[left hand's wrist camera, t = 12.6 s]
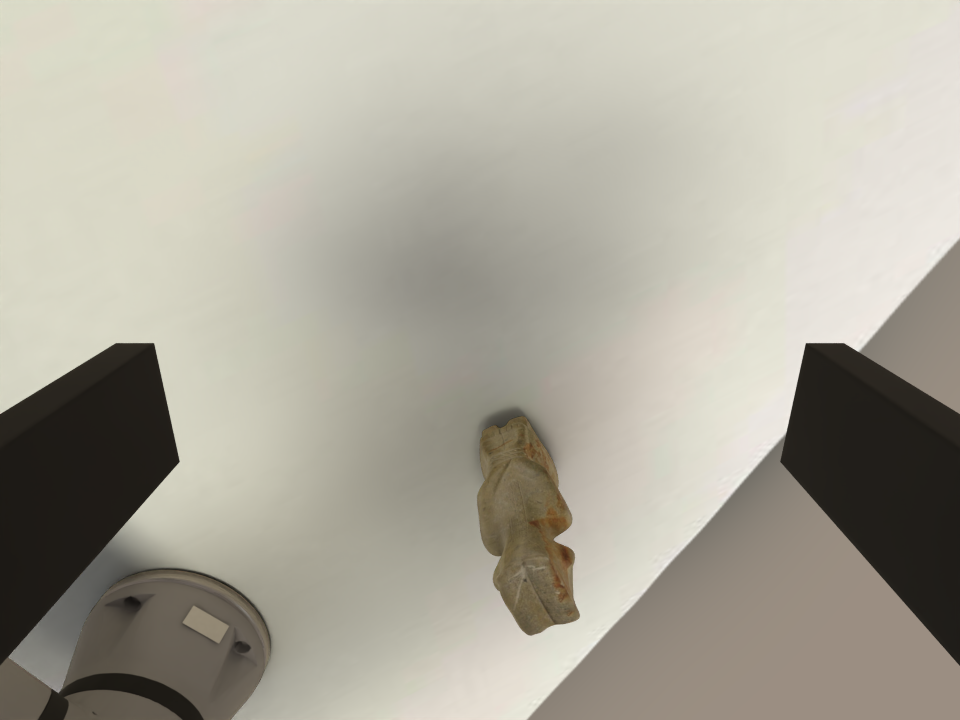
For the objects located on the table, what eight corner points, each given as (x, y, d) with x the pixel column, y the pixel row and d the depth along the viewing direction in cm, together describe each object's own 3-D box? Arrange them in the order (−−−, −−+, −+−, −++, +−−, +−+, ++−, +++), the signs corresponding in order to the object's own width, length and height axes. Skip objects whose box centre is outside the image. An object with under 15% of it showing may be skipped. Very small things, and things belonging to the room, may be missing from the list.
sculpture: (496, 498, 47) (502, 656, 33) (464, 421, 45) (457, 558, 31) (567, 476, 46) (604, 629, 32) (538, 397, 44) (566, 526, 30)
